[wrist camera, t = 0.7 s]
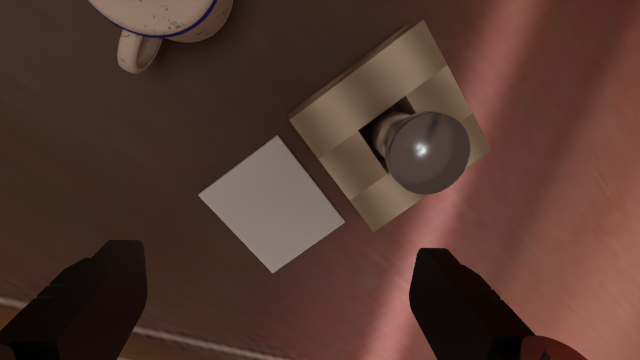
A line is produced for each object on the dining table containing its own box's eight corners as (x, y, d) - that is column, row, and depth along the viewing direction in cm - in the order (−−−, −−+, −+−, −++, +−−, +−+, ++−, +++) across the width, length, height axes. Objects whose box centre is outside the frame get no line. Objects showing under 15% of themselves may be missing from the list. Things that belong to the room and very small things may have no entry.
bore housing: (405, 25, 32) (423, 19, 28) (469, 141, 36) (491, 150, 32) (287, 114, 33) (289, 120, 29) (363, 216, 37) (373, 232, 34)
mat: (277, 134, 33) (277, 135, 33) (344, 219, 37) (345, 222, 37) (199, 193, 34) (198, 195, 34) (272, 270, 38) (272, 273, 38)
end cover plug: (392, 86, 33) (447, 95, 23) (420, 134, 35) (483, 162, 25) (343, 122, 34) (374, 147, 23) (374, 167, 36) (416, 209, 25)
